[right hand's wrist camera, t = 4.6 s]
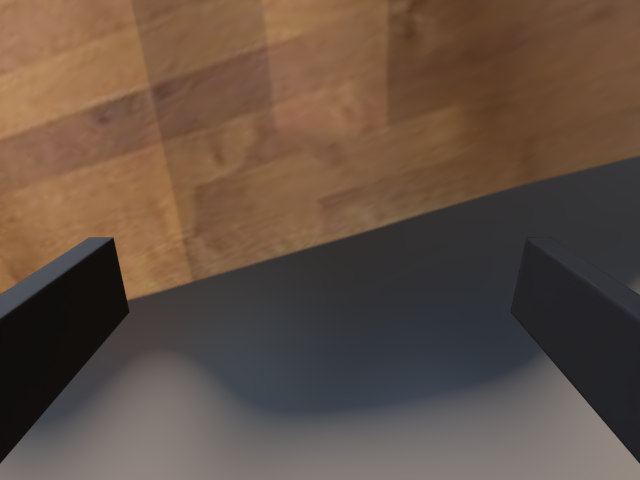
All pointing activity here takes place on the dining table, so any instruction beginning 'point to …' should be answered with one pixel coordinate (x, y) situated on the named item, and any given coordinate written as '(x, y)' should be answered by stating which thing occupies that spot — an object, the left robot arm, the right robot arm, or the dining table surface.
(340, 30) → the dining table surface
